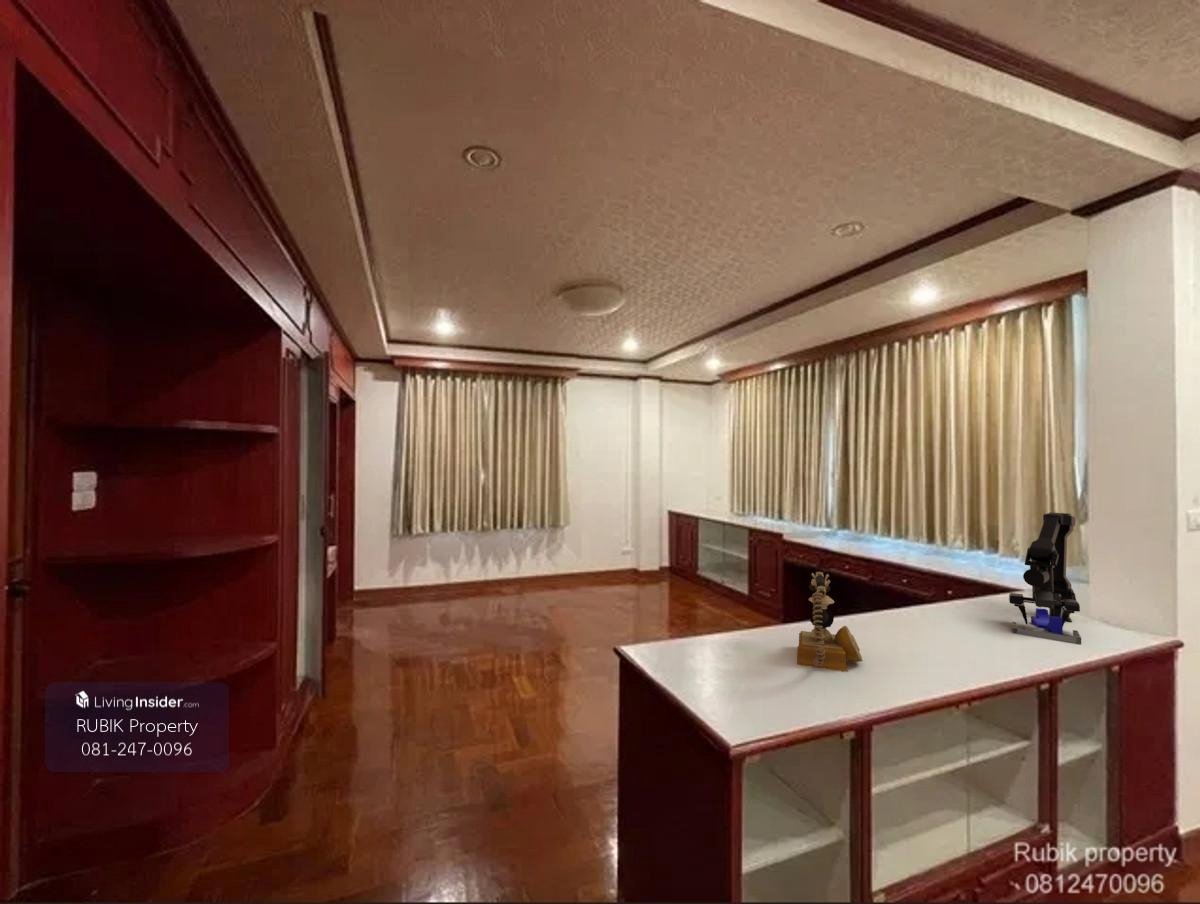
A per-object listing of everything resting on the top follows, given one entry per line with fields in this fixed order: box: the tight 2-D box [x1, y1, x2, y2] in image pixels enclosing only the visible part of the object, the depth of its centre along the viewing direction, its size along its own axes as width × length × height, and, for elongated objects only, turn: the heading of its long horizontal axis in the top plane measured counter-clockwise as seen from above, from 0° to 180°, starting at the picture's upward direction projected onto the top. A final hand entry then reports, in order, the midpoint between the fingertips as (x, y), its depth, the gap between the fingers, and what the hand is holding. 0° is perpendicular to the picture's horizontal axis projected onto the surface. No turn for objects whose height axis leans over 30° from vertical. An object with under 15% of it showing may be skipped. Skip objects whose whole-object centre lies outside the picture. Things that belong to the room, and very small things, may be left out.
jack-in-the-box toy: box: [796, 571, 864, 672], centre depth 152 cm, size 35×18×25 cm, turn 159°
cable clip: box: [1030, 607, 1064, 634], centre depth 186 cm, size 12×4×6 cm, turn 161°
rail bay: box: [1011, 621, 1082, 645], centre depth 180 cm, size 9×17×2 cm, turn 54°
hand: (1043, 626), depth 186 cm, fingers open, 9 cm apart
